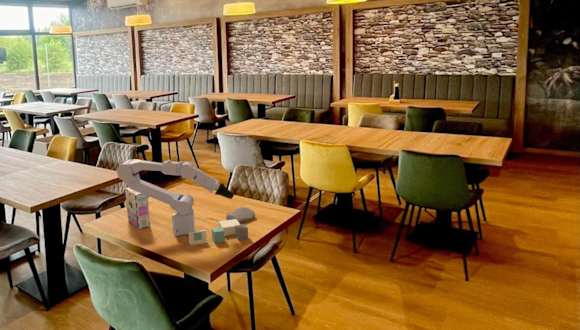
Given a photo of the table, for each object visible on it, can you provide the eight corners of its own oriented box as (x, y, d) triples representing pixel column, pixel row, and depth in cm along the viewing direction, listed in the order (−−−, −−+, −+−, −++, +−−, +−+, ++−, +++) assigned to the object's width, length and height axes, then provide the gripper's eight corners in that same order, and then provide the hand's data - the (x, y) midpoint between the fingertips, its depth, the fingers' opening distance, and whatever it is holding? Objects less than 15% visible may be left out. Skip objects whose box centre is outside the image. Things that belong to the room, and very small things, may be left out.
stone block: (257, 221, 224) (242, 212, 230) (258, 212, 222) (243, 204, 228) (239, 229, 215) (224, 220, 221) (240, 220, 213) (225, 211, 219)
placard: (190, 245, 193) (189, 234, 192) (188, 242, 196) (188, 231, 195) (206, 242, 196) (206, 231, 194) (205, 239, 198) (204, 228, 197)
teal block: (214, 243, 195) (213, 232, 194) (212, 239, 199) (211, 228, 198) (224, 241, 197) (224, 230, 195) (222, 237, 201) (221, 227, 199)
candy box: (150, 226, 213) (147, 192, 209) (138, 230, 209) (134, 195, 205) (139, 218, 223) (136, 185, 219) (127, 220, 220) (124, 187, 216)
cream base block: (223, 236, 203) (222, 227, 202) (219, 229, 210) (218, 221, 209) (241, 233, 205) (240, 225, 204) (236, 227, 212) (236, 218, 211)
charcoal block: (238, 240, 198) (237, 229, 197) (235, 236, 202) (235, 225, 201) (248, 238, 200) (247, 227, 198) (245, 234, 204) (244, 224, 202)
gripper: (210, 171, 195) (238, 188, 197) (209, 173, 209) (235, 189, 211) (201, 186, 194) (229, 203, 196) (201, 187, 208) (227, 202, 210)
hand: (232, 196), depth 203 cm, fingers open, 7 cm apart
